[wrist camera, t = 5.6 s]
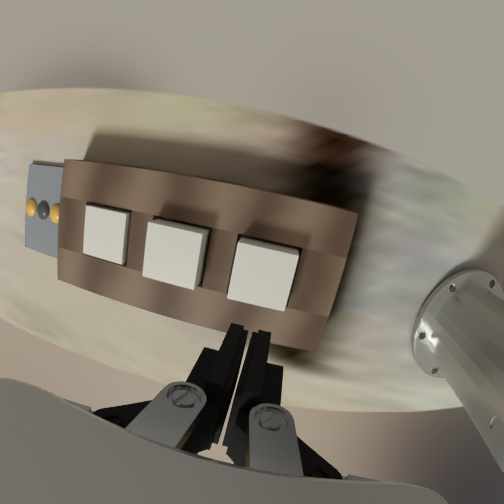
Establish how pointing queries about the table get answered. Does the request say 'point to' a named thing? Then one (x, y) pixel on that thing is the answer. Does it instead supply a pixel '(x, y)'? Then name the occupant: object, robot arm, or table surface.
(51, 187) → the card
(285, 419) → the robot arm
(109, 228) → the button
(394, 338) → the table surface
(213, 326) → the button board
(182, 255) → the button middle
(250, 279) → the button
